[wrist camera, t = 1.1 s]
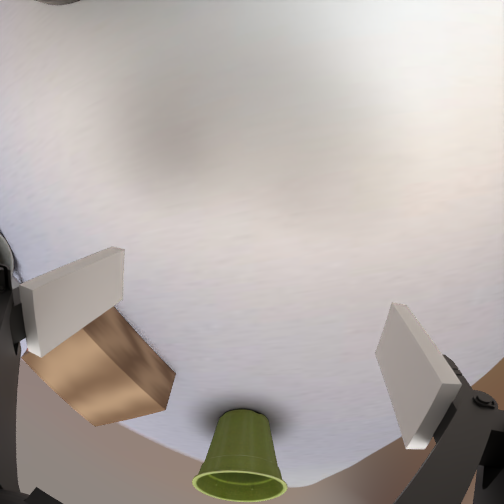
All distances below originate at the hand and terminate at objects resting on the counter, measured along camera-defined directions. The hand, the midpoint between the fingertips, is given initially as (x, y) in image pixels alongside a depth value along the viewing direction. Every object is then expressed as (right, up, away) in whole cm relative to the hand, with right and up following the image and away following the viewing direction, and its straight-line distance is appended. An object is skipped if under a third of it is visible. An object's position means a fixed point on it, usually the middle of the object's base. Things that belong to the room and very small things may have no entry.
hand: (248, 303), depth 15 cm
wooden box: (-19, -11, +23) cm, 31 cm away
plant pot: (-1, -22, +28) cm, 35 cm away
